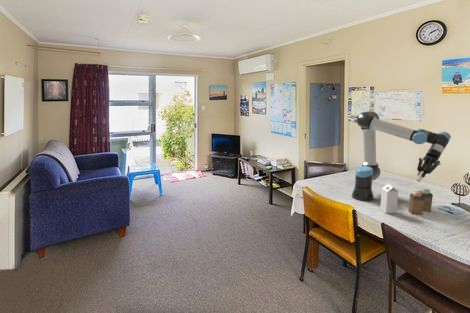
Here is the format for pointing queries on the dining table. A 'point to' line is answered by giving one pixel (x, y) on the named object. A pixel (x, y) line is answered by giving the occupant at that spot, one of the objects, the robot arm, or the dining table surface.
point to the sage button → (425, 191)
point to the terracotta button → (417, 194)
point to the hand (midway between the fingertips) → (418, 180)
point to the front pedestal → (416, 205)
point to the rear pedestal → (427, 202)
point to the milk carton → (389, 199)
